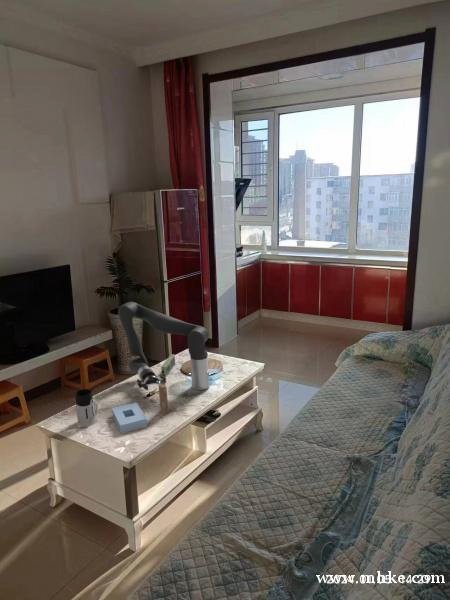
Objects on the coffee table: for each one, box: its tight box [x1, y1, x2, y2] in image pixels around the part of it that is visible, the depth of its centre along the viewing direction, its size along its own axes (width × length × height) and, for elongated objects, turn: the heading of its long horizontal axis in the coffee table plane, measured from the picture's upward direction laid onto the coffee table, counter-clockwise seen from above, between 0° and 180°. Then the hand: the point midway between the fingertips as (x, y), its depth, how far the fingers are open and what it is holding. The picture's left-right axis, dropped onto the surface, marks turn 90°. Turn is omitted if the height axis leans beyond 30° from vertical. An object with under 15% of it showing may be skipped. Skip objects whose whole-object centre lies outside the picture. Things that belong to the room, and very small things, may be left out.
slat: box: [158, 383, 169, 416], centre depth 208 cm, size 2×4×14 cm, turn 26°
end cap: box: [111, 402, 148, 434], centre depth 202 cm, size 12×18×4 cm, turn 26°
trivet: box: [180, 357, 224, 376], centre depth 260 cm, size 25×25×2 cm
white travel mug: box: [74, 388, 98, 428], centre depth 199 cm, size 9×14×15 cm, turn 50°
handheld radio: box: [160, 353, 176, 378], centre depth 256 cm, size 7×3×25 cm
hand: (155, 386), depth 217 cm, fingers open, 8 cm apart
